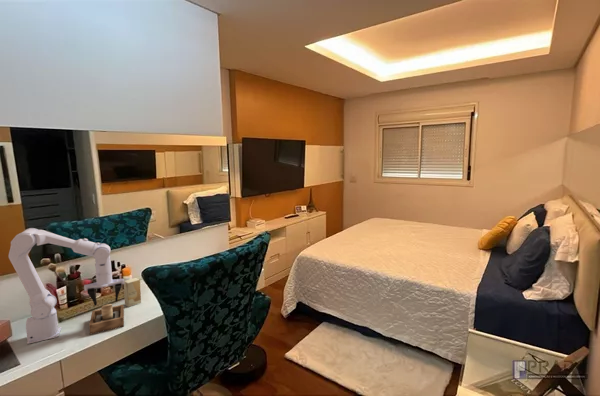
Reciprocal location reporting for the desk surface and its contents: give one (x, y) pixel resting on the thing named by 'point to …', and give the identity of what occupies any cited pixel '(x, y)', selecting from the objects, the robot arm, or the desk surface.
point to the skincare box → (132, 292)
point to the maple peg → (107, 312)
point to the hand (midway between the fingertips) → (106, 302)
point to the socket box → (100, 326)
